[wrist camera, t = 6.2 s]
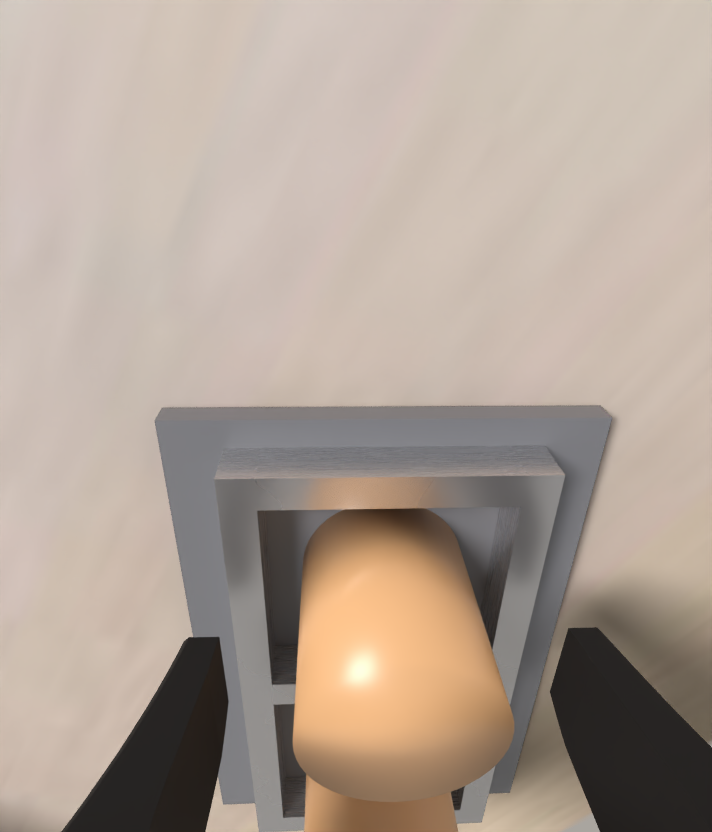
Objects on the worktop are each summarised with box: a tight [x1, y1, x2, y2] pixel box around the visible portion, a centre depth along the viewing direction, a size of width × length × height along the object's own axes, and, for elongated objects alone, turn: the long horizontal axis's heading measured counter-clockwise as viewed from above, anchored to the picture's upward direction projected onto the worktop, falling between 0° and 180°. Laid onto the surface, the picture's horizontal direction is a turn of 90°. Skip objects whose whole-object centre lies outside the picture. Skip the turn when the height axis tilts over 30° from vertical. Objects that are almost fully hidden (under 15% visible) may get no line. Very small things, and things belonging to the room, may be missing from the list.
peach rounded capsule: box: [293, 508, 514, 802], centre depth 12 cm, size 4×4×4 cm
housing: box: [155, 406, 612, 832], centre depth 14 cm, size 10×15×5 cm, turn 179°
